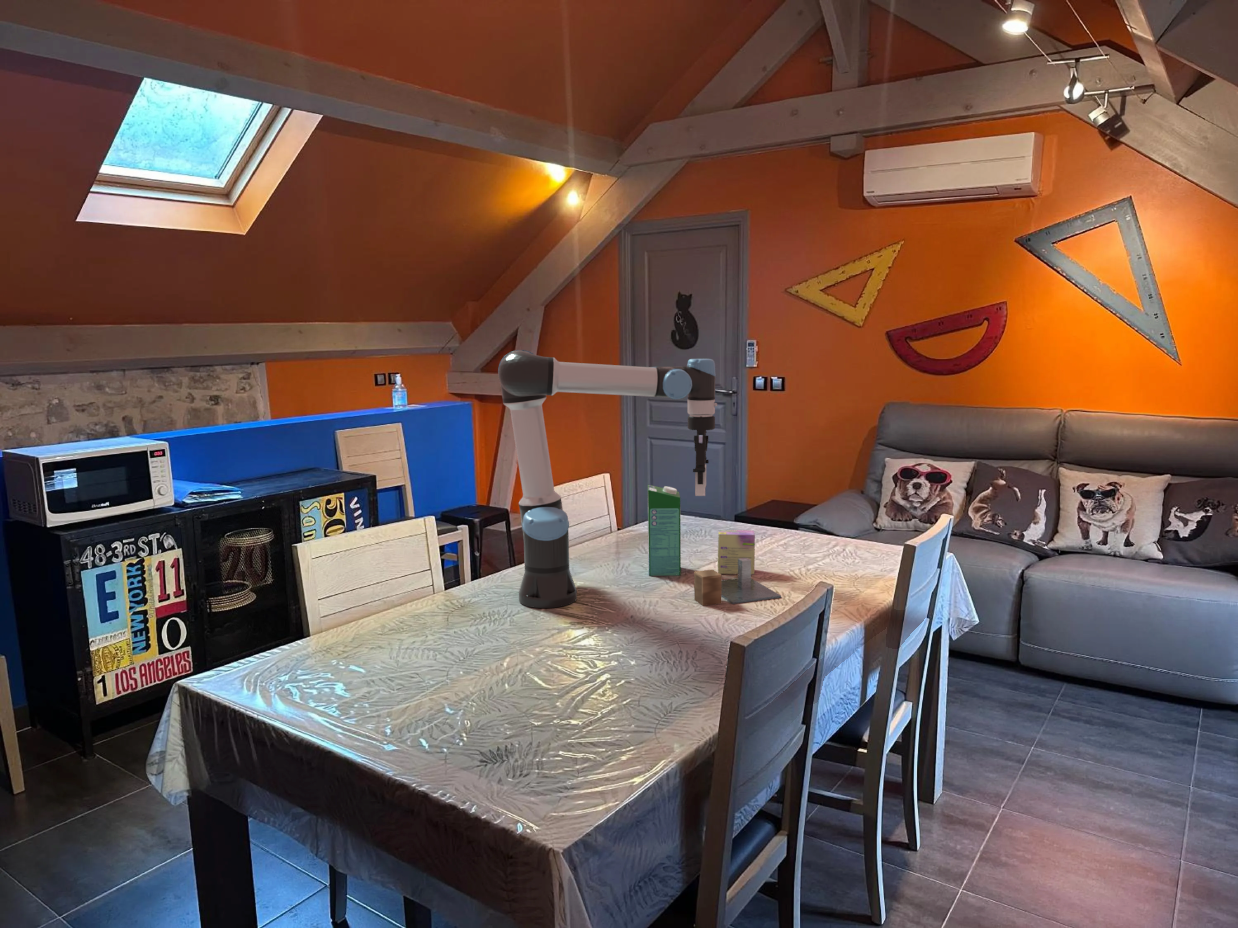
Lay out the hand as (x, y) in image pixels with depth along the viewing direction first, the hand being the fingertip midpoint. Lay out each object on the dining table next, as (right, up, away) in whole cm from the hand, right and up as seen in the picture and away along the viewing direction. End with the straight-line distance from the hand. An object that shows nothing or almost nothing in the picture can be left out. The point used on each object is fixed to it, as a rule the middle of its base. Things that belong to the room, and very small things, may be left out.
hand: (700, 491), depth 239 cm
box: (+11, -24, +8) cm, 27 cm away
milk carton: (-10, -24, +9) cm, 27 cm away
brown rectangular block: (0, -28, -19) cm, 34 cm away
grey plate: (+10, -26, -10) cm, 30 cm away
